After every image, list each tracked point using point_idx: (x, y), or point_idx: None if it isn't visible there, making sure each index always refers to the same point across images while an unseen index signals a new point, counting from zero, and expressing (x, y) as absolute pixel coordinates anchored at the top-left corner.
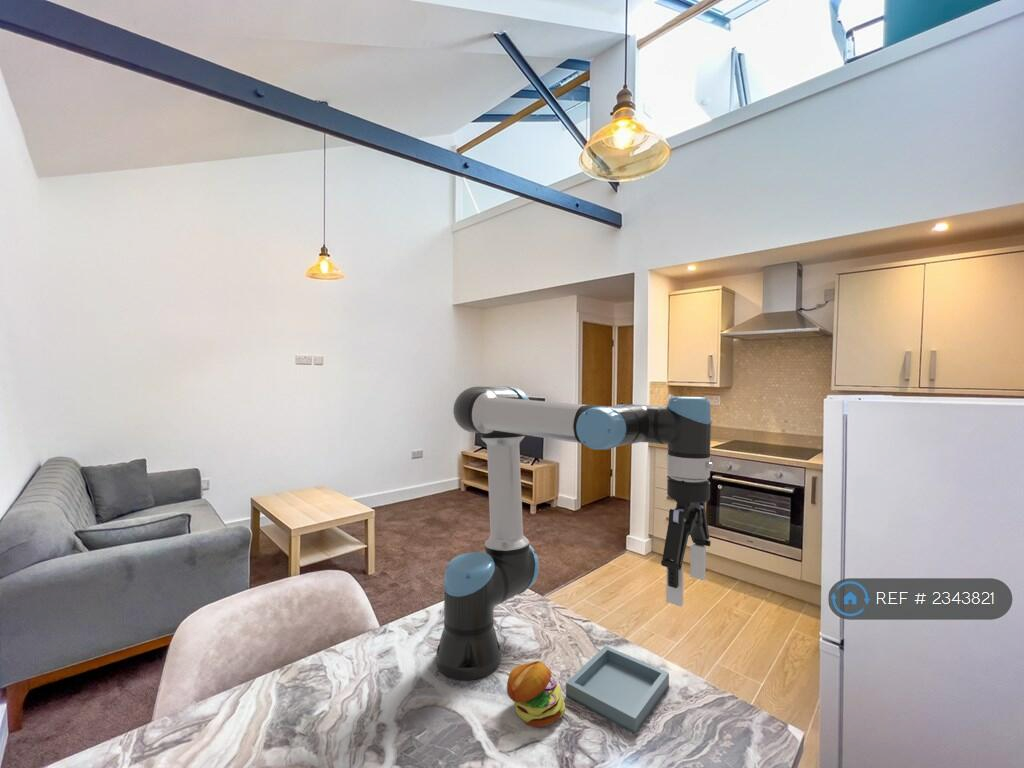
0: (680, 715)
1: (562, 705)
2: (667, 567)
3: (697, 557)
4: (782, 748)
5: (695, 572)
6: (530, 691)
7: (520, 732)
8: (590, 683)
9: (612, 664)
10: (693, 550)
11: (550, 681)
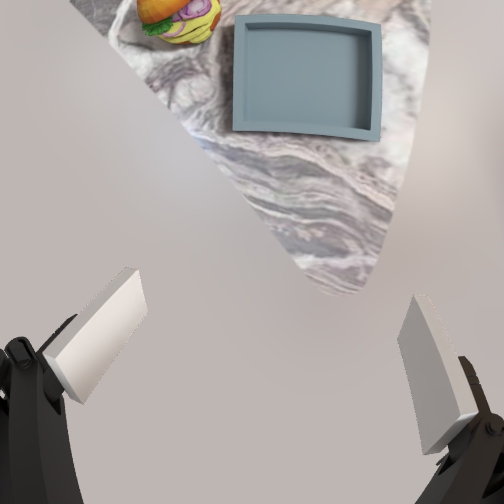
0: (319, 170)
1: (196, 37)
2: (47, 350)
3: (428, 387)
4: (333, 287)
5: (413, 327)
6: (139, 16)
7: None
8: (289, 35)
9: (362, 46)
10: (444, 399)
11: (205, 5)
